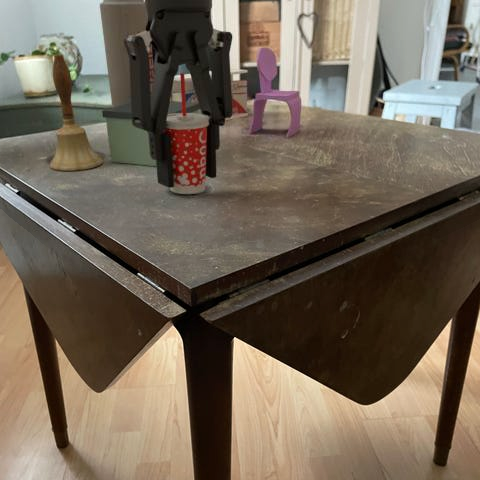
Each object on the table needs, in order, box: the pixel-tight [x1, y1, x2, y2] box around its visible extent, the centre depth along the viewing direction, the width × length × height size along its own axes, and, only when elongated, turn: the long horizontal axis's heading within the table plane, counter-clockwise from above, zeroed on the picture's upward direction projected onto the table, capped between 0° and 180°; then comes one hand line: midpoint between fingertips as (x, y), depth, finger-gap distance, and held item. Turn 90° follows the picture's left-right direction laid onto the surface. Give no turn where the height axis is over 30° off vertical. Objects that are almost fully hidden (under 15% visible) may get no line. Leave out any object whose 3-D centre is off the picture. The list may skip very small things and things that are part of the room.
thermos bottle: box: [99, 0, 155, 108], centre depth 94 cm, size 8×8×28 cm
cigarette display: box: [170, 68, 249, 122], centre depth 116 cm, size 20×6×9 cm, turn 136°
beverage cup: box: [164, 72, 209, 195], centre depth 68 cm, size 6×6×14 cm
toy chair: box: [247, 46, 302, 139], centre depth 102 cm, size 8×9×15 cm
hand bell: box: [49, 54, 103, 172], centre depth 83 cm, size 8×8×16 cm
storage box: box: [101, 101, 200, 167], centre depth 89 cm, size 12×12×8 cm
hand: (187, 179), depth 71 cm, fingers closed on beverage cup, 6 cm apart
